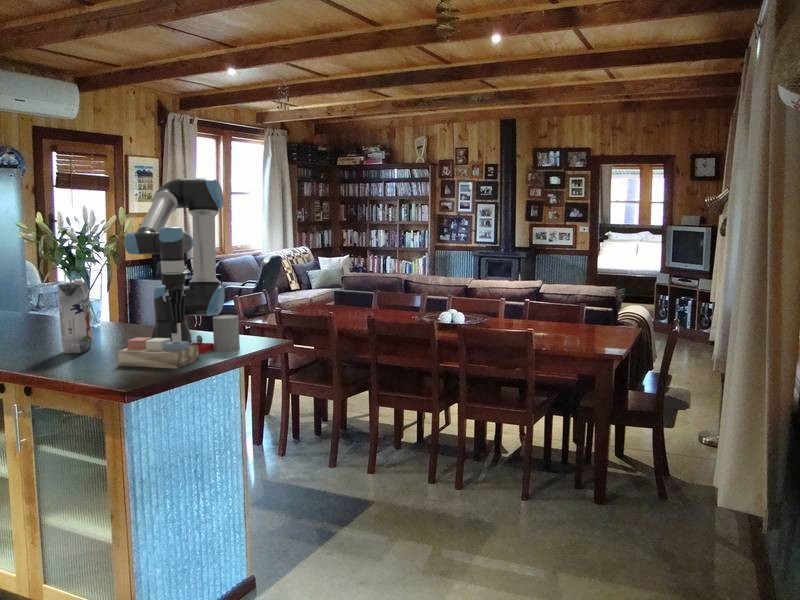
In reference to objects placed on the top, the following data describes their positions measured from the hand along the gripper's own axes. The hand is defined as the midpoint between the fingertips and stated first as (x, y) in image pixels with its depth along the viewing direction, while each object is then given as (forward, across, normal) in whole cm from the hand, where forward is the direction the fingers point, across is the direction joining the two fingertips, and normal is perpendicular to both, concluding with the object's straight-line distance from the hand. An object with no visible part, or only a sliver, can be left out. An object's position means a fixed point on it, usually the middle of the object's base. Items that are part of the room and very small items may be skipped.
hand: (176, 342), depth 240 cm
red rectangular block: (+8, -20, -3) cm, 22 cm away
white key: (+2, 0, -7) cm, 8 cm away
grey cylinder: (+8, -26, +5) cm, 28 cm away
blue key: (+3, 0, 0) cm, 3 cm away
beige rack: (+7, 0, -7) cm, 10 cm away
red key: (+2, 0, -14) cm, 14 cm away
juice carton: (+8, -12, -49) cm, 51 cm away
